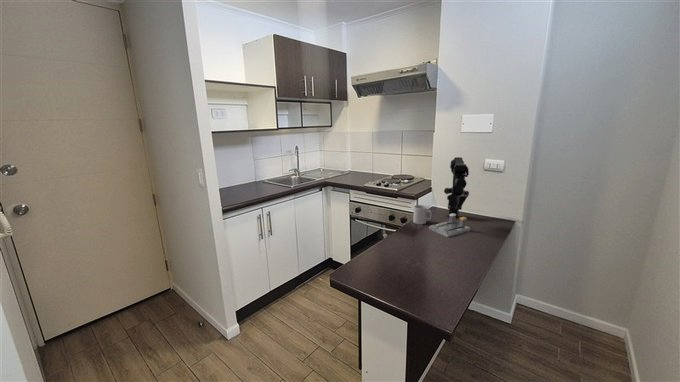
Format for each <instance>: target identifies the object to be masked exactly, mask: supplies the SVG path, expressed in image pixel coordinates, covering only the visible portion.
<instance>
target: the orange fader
mask: <svg viewBox="0 0 680 382" xmlns="http://www.w3.org/2000/svg"><path fill="white" fill-rule="evenodd" d="M459 226H461V227H464V226H467V217H465V216H462V217H461V216H460V217H459Z"/></svg>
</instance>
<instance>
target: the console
mask: <svg viewBox="0 0 680 382" xmlns="http://www.w3.org/2000/svg"><path fill="white" fill-rule="evenodd" d="M459 224H460V222H456V221H455V222H454V223H450V222H449V220H448V221H444V222H443V221H442V222H439V223H437V224H432V225H429V226H428V230H429V231H433V232H434V233H437V234H439V235H441V236H444V237H446V238H449V237H453V236H457V235H459V234H463V233H466V232H467V233H468V232H469V231H471V227H469V226H468V225H466V226H464V227H461V226H459Z"/></svg>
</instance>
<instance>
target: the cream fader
mask: <svg viewBox="0 0 680 382" xmlns="http://www.w3.org/2000/svg"><path fill="white" fill-rule="evenodd" d="M448 215H449V216H450V217H449V220H448V221H449V222H450V223H454V222H456V218H455V217H456V214H449V213H448Z"/></svg>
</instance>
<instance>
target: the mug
mask: <svg viewBox="0 0 680 382" xmlns="http://www.w3.org/2000/svg"><path fill="white" fill-rule="evenodd" d="M427 213H429V217H427ZM432 216H433V214H432V210H430V209H428V208H427V206H426V205H422V204H420V205H419V204H417V205H414V206H413V216H412V217H413V219H412V221H413V223H414V224H417V225H425V224H427V221H429V220H431V219H432Z"/></svg>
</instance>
